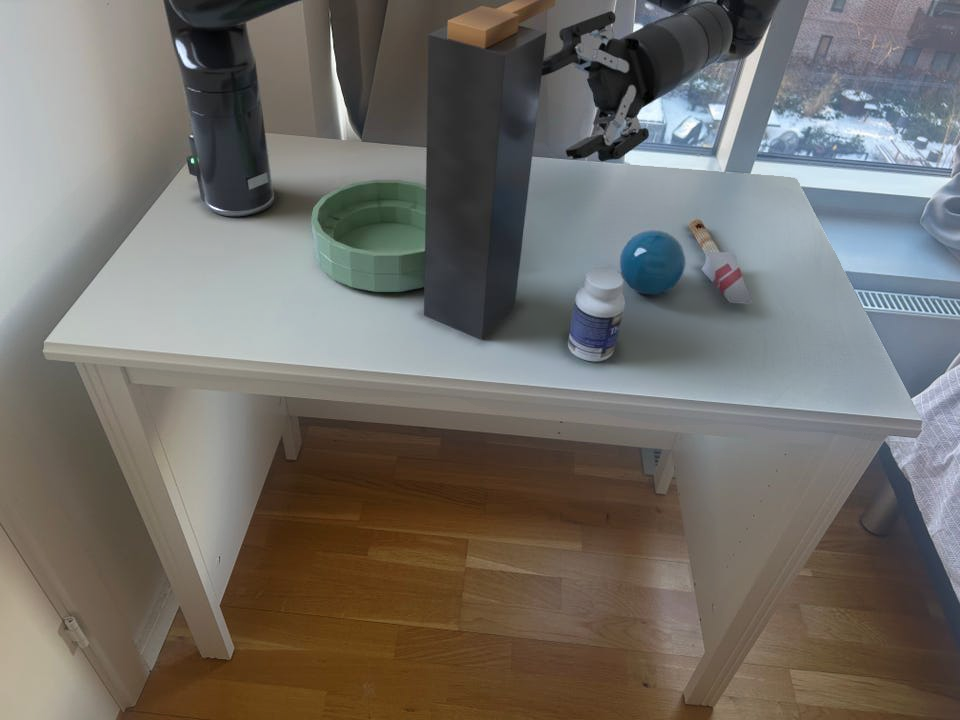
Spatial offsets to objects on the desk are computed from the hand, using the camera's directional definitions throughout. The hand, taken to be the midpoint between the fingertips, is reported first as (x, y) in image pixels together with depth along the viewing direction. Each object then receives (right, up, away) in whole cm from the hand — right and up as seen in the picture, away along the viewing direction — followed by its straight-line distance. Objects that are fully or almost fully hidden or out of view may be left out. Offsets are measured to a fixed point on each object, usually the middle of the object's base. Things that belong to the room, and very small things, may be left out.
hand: (558, 113), depth 76 cm
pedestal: (-9, -19, +13) cm, 25 cm away
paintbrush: (+23, -13, +24) cm, 36 cm away
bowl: (-20, -11, +21) cm, 31 cm away
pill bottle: (+5, -24, +10) cm, 26 cm away
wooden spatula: (-5, +7, -5) cm, 10 cm away
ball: (+13, -16, +19) cm, 29 cm away
